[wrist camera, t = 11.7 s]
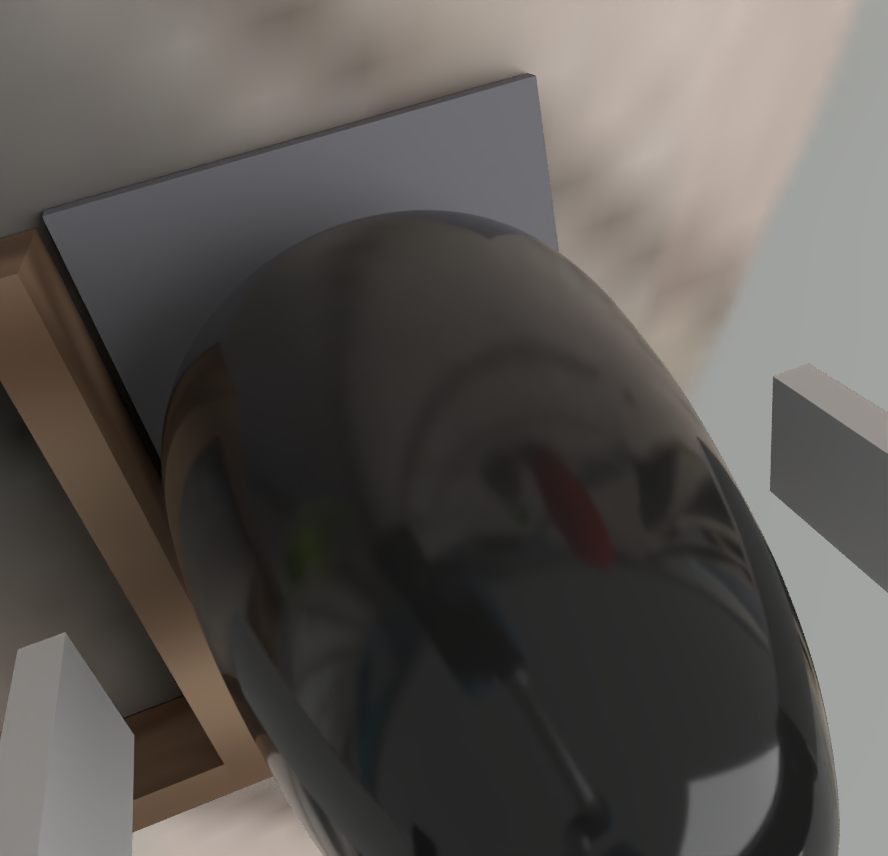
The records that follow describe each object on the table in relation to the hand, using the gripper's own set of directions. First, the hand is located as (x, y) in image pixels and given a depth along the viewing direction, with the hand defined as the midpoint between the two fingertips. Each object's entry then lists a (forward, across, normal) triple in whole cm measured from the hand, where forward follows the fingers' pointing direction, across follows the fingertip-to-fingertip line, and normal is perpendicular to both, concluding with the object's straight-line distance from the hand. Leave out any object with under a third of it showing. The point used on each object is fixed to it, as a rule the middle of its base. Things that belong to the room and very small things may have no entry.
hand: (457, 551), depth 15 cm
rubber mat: (+8, 0, 0) cm, 8 cm away
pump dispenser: (+8, 0, 0) cm, 8 cm away
